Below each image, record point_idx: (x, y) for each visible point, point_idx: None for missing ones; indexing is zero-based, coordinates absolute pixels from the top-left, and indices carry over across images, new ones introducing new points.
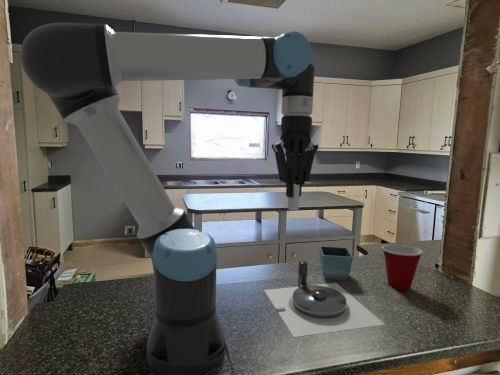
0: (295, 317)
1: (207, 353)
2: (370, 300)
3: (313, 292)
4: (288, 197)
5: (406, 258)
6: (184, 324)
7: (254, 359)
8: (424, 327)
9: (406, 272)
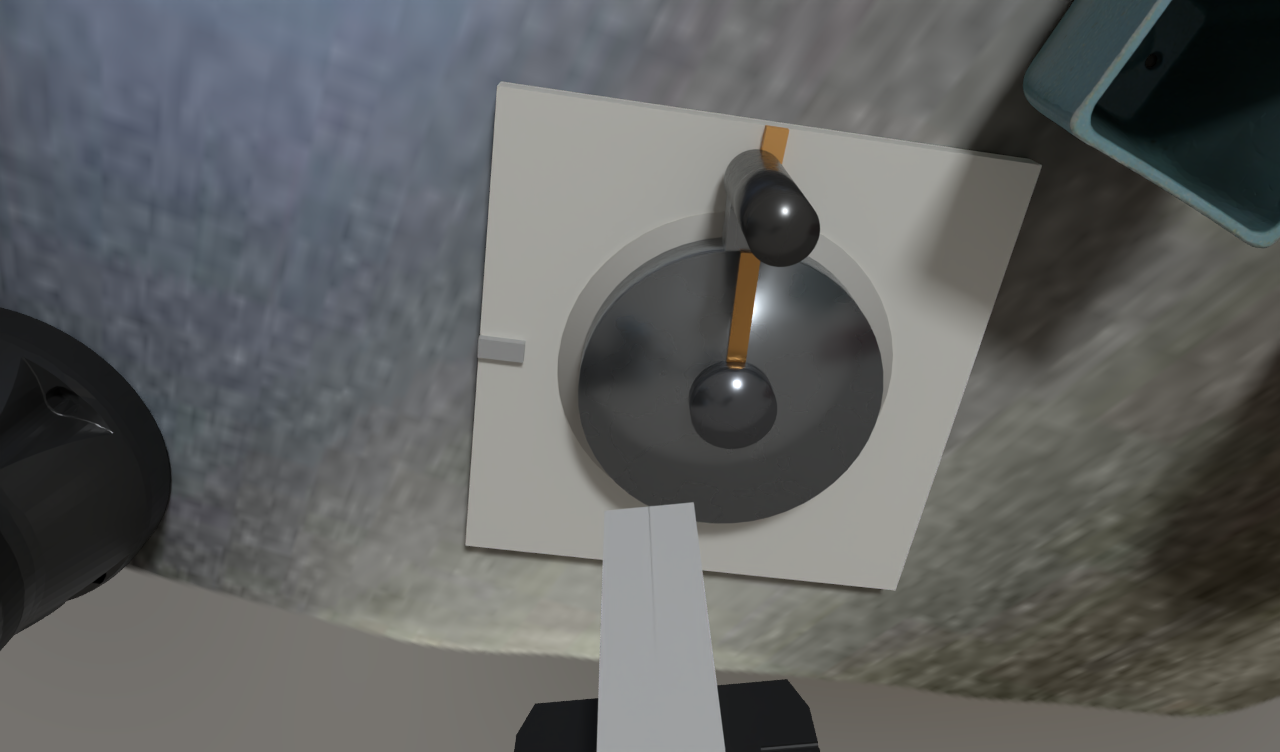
0: (544, 429)
1: (61, 605)
2: (1064, 371)
3: (699, 402)
4: (603, 646)
5: None
6: None
7: (282, 563)
8: (1053, 611)
9: None
